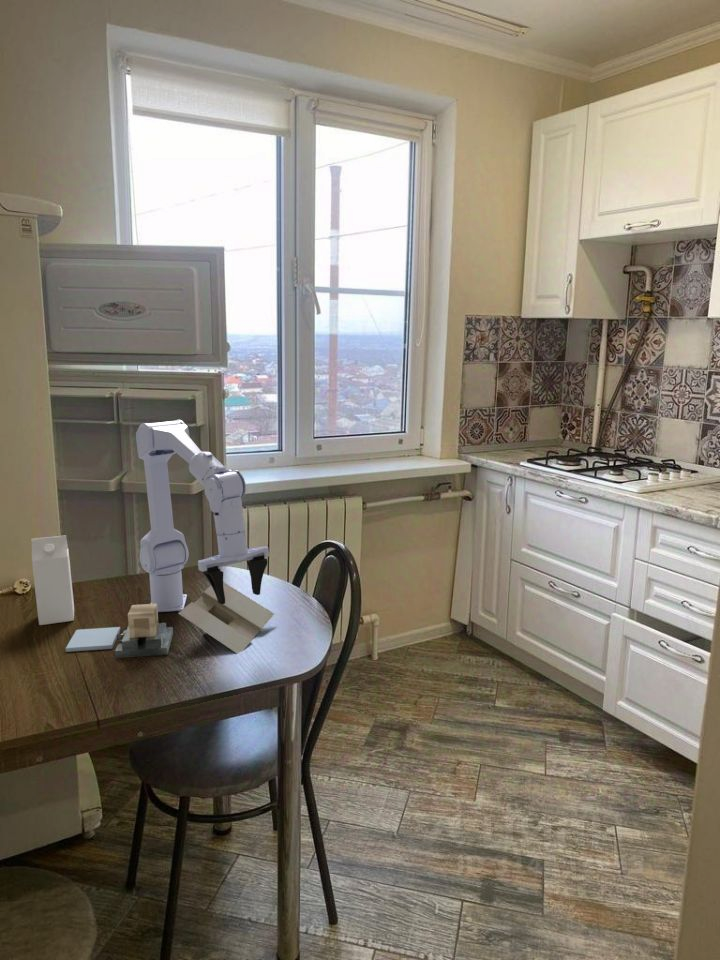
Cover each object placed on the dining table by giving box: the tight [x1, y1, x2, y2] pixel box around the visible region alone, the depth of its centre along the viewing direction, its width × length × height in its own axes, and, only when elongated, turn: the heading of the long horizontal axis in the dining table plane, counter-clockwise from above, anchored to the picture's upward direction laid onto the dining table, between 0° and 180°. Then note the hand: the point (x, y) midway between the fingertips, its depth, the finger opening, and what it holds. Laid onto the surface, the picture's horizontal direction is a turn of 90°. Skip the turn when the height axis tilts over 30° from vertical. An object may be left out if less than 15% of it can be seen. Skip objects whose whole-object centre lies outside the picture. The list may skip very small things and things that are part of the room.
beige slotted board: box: [178, 581, 275, 654], centre depth 150 cm, size 16×9×15 cm
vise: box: [114, 622, 174, 659], centre depth 144 cm, size 10×10×6 cm
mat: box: [65, 626, 121, 653], centre depth 147 cm, size 9×9×1 cm
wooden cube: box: [127, 603, 159, 638], centre depth 143 cm, size 5×5×5 cm
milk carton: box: [30, 535, 75, 626], centre depth 157 cm, size 7×7×19 cm
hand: (239, 598), depth 141 cm, fingers open, 7 cm apart
